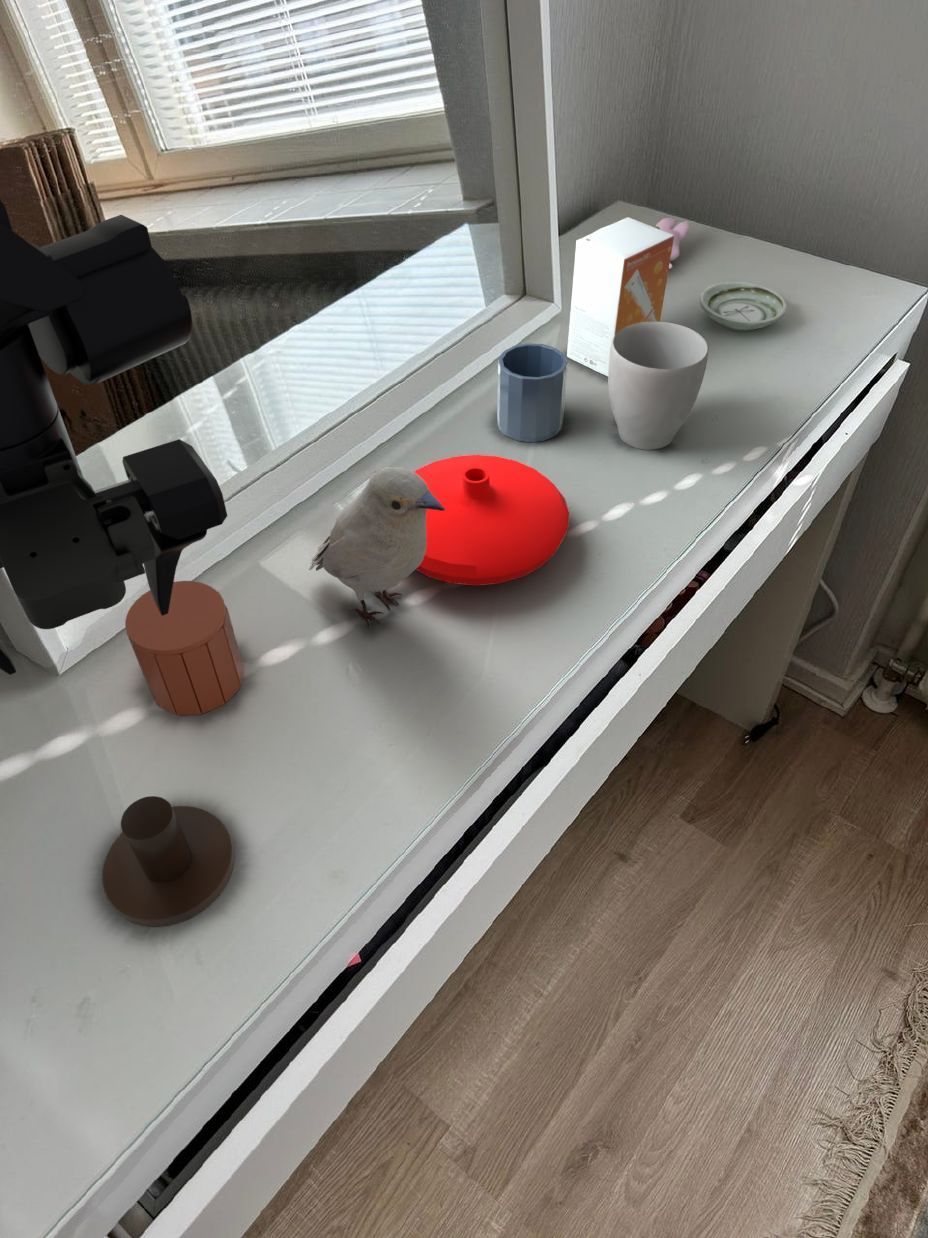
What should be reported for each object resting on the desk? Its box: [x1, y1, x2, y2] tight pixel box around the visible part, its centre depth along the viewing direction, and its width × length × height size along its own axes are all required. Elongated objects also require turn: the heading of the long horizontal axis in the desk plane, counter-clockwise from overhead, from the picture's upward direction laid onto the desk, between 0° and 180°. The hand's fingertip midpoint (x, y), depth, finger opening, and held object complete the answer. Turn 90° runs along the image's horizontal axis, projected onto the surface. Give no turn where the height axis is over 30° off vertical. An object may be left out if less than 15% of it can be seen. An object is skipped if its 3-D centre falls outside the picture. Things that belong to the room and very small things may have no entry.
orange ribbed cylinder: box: [124, 580, 245, 716], centre depth 66 cm, size 7×7×7 cm
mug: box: [607, 321, 709, 451], centre depth 87 cm, size 12×9×10 cm
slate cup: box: [496, 342, 569, 443], centre depth 89 cm, size 6×6×7 cm
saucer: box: [699, 281, 788, 332], centre depth 104 cm, size 10×10×2 cm
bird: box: [308, 466, 445, 630], centre depth 68 cm, size 5×14×15 cm, turn 56°
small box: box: [566, 216, 674, 378], centre depth 96 cm, size 8×6×13 cm
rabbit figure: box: [654, 217, 691, 270], centre depth 113 cm, size 6×6×15 cm
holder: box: [101, 795, 235, 927], centre depth 56 cm, size 8×8×6 cm
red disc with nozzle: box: [413, 454, 570, 586], centre depth 77 cm, size 16×16×7 cm
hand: (89, 639), depth 56 cm, fingers open, 9 cm apart
